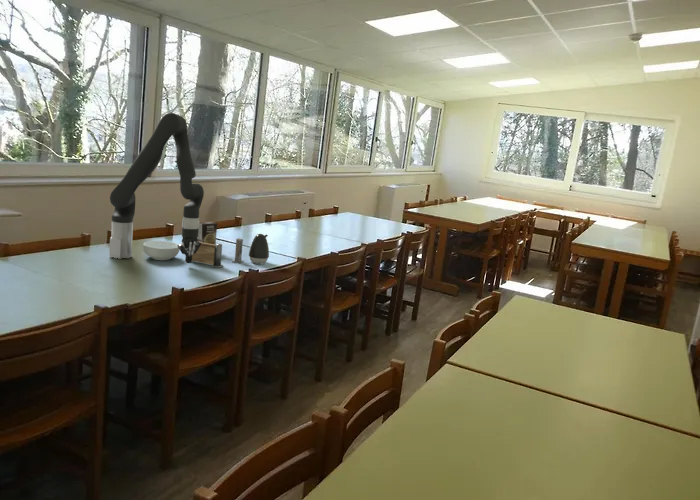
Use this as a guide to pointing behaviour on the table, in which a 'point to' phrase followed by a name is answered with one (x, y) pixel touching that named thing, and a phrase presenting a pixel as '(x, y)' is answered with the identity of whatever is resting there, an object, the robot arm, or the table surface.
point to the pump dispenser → (259, 249)
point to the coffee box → (207, 232)
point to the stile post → (238, 251)
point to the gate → (205, 254)
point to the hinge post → (218, 256)
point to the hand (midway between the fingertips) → (188, 262)
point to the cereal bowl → (161, 249)
